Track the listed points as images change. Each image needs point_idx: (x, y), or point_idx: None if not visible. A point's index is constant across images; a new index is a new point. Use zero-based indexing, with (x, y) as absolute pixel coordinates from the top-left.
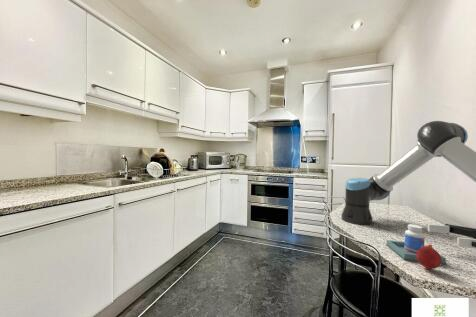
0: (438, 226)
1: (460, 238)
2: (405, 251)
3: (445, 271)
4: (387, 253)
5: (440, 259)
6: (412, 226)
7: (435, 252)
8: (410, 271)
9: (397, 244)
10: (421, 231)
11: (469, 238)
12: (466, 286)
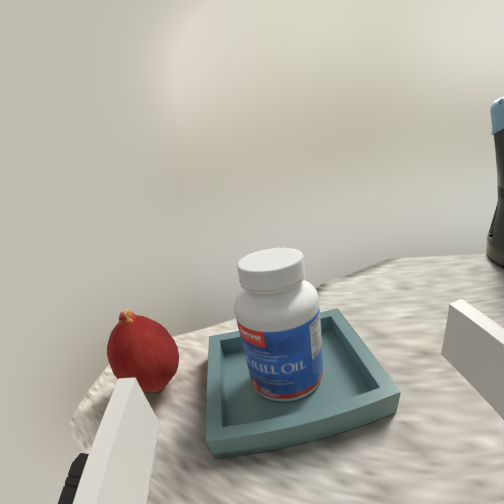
0: (490, 345)
1: (116, 385)
2: None
3: None
4: None
5: (110, 363)
6: (252, 254)
7: (110, 336)
8: None
9: (340, 338)
10: (250, 291)
11: (113, 442)
12: (73, 425)
